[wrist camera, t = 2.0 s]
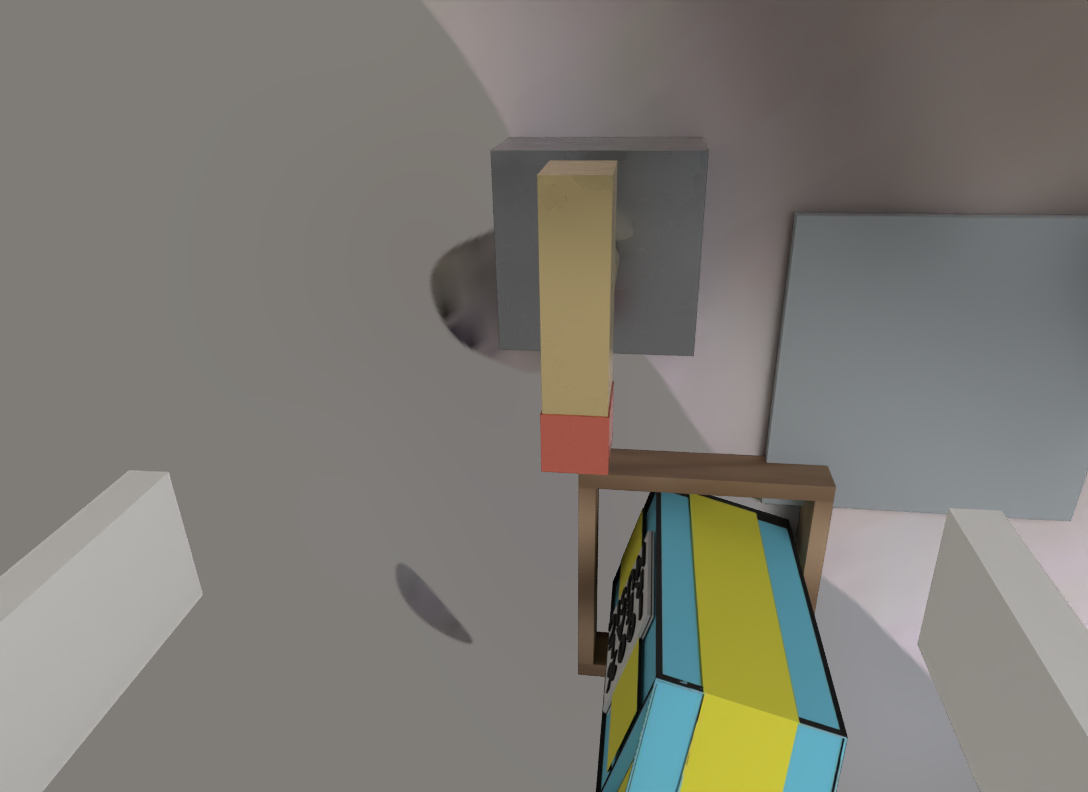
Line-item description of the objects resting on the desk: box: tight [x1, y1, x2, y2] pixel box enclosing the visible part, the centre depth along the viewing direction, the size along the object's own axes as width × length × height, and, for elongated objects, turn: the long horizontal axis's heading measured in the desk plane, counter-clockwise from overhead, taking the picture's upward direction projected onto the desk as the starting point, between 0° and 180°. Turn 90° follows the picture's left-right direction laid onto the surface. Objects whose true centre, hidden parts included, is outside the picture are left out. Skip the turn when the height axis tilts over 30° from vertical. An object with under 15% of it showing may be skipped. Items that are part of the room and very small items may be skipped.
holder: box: [578, 449, 836, 677], centre depth 39 cm, size 13×12×2 cm
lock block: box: [491, 137, 708, 356], centre depth 31 cm, size 8×8×4 cm
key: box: [537, 160, 619, 475], centre depth 26 cm, size 9×2×8 cm, turn 1°
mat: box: [761, 212, 1088, 521], centre depth 34 cm, size 14×14×1 cm
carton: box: [596, 492, 848, 792], centre depth 32 cm, size 7×8×18 cm
